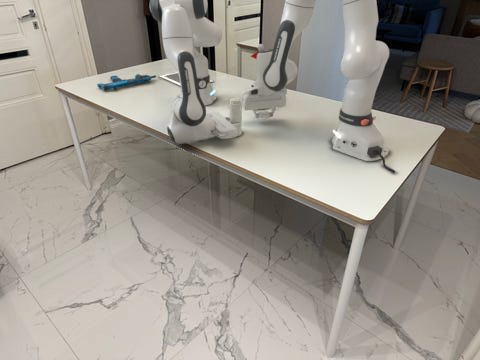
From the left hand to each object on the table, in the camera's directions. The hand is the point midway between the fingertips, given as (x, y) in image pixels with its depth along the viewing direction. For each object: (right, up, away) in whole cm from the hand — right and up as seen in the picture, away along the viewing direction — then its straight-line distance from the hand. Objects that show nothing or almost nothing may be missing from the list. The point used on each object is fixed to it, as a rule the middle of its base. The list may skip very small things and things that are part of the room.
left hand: (237, 121), depth 145 cm
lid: (+12, +6, +12) cm, 18 cm away
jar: (-1, -5, +3) cm, 5 cm away
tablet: (-33, +39, +69) cm, 86 cm away
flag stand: (+11, +14, +31) cm, 36 cm away
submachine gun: (-69, +35, +63) cm, 100 cm away
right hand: (+12, +4, +13) cm, 18 cm away
